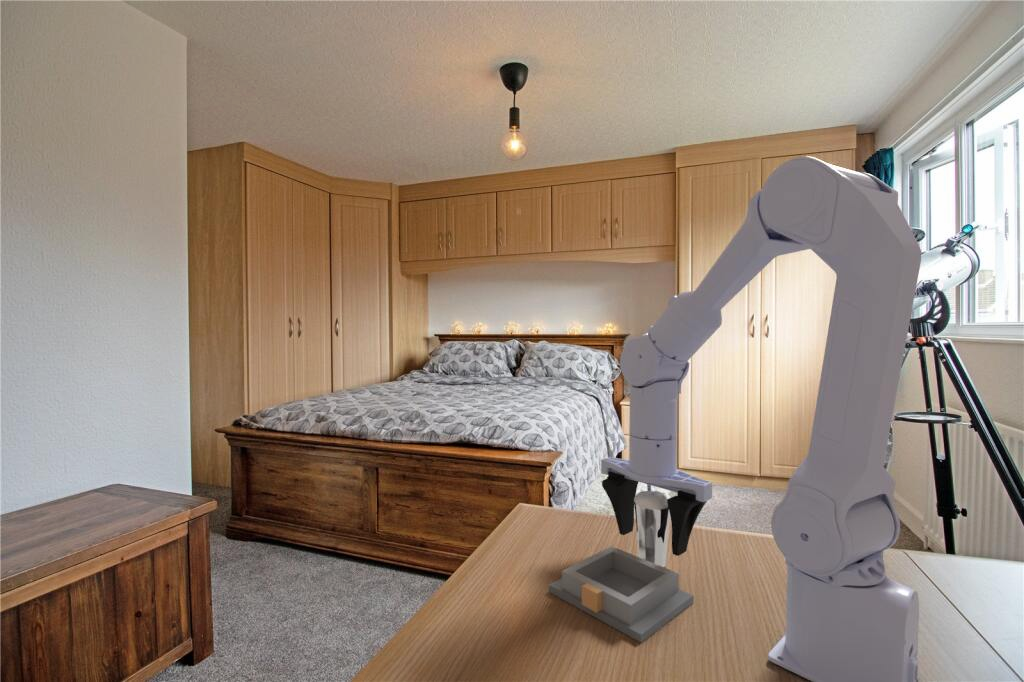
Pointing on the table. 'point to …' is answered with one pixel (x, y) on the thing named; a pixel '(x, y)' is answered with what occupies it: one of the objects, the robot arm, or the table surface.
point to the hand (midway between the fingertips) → (651, 542)
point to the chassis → (623, 592)
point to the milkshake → (652, 525)
